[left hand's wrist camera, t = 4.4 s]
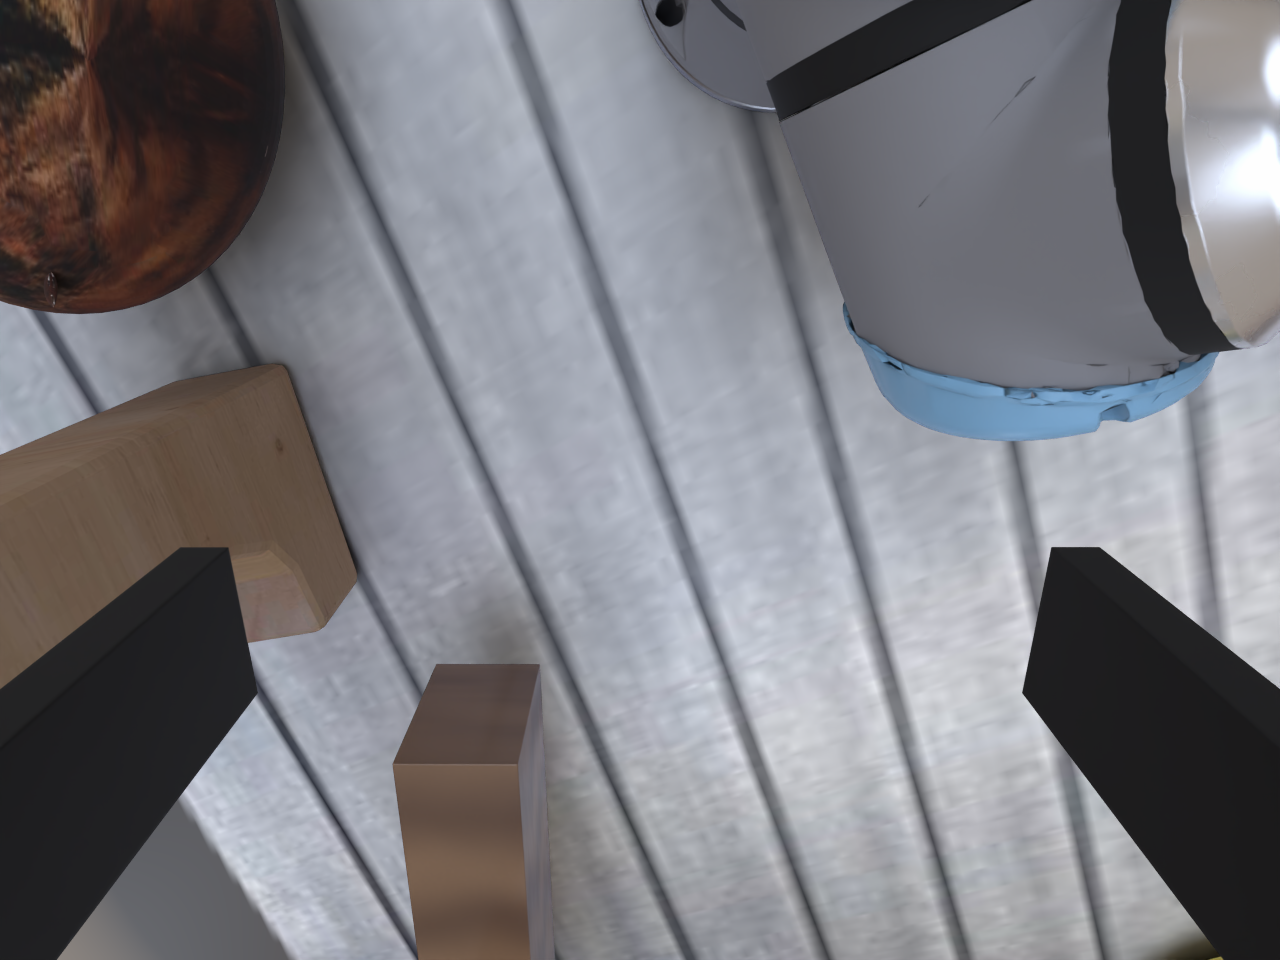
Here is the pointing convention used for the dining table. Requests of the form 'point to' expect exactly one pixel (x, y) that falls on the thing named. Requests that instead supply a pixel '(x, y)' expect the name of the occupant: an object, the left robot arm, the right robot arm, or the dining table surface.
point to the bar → (477, 815)
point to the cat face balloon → (130, 143)
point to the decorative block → (170, 510)
